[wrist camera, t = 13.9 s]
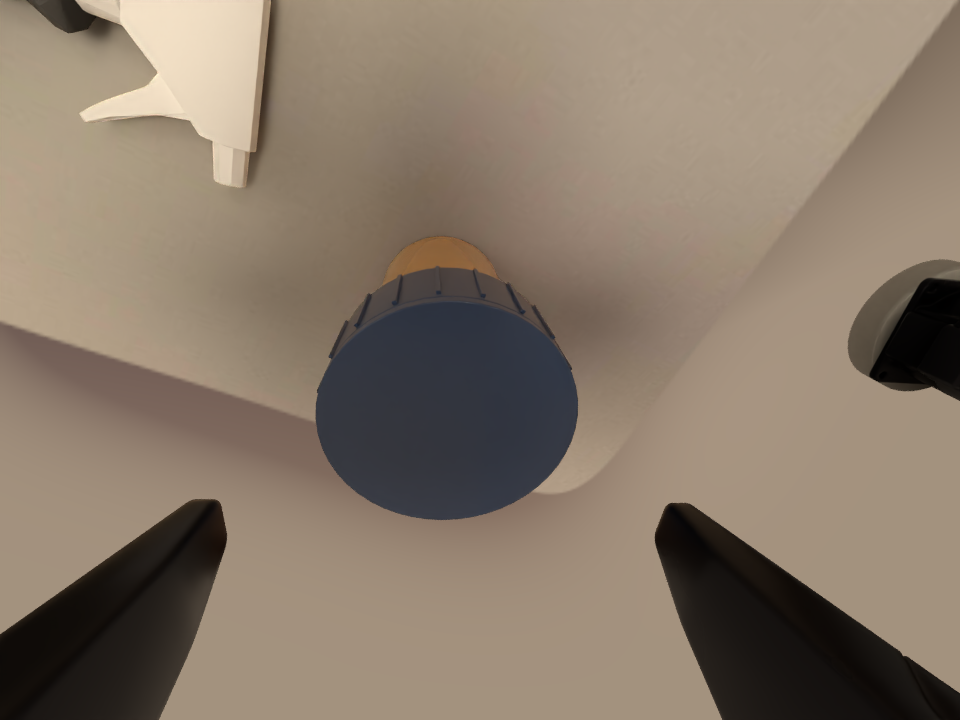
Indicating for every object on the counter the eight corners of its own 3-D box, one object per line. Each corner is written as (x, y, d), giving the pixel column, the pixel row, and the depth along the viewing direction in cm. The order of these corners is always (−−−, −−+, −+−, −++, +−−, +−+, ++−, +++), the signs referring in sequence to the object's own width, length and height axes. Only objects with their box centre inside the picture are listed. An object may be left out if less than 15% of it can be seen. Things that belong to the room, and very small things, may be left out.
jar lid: (571, 274, 12) (607, 309, 10) (534, 459, 15) (554, 522, 13) (331, 255, 11) (304, 287, 9) (339, 454, 14) (320, 521, 12)
